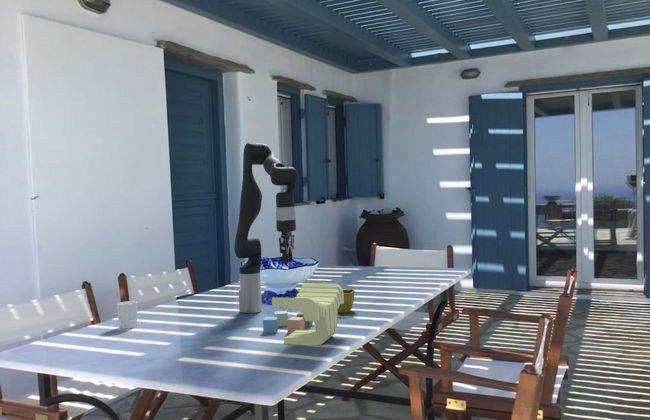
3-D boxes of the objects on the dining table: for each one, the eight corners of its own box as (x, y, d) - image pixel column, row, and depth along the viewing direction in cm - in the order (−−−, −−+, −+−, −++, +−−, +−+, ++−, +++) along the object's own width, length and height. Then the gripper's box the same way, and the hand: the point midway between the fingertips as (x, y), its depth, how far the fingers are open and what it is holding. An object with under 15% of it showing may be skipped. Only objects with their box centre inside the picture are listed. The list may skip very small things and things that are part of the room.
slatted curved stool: (319, 352, 194) (316, 298, 194) (274, 350, 199) (271, 297, 199) (345, 330, 223) (343, 283, 222) (305, 329, 228) (303, 282, 227)
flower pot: (352, 314, 252) (351, 292, 252) (332, 313, 254) (331, 292, 254) (355, 309, 261) (354, 289, 260) (335, 309, 262) (335, 289, 262)
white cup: (119, 330, 238) (118, 305, 238) (116, 326, 245) (115, 302, 244) (139, 327, 241) (138, 303, 241) (136, 324, 248) (135, 300, 248)
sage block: (275, 326, 234) (274, 314, 234) (274, 323, 239) (274, 311, 239) (288, 325, 235) (287, 313, 235) (287, 323, 240) (286, 310, 240)
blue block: (263, 333, 224) (262, 320, 224) (265, 330, 229) (264, 317, 229) (276, 332, 224) (276, 319, 224) (278, 329, 229) (277, 316, 229)
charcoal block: (297, 327, 232) (296, 314, 232) (300, 324, 237) (300, 311, 237) (309, 327, 231) (309, 314, 231) (312, 324, 236) (312, 311, 236)
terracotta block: (287, 333, 223) (287, 319, 223) (292, 329, 228) (292, 316, 228) (299, 333, 221) (299, 320, 221) (304, 330, 226) (304, 317, 226)
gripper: (281, 218, 238) (283, 260, 238) (271, 220, 224) (273, 265, 224) (299, 217, 236) (301, 260, 237) (290, 219, 222) (292, 265, 223)
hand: (287, 262), depth 230 cm, fingers open, 5 cm apart
